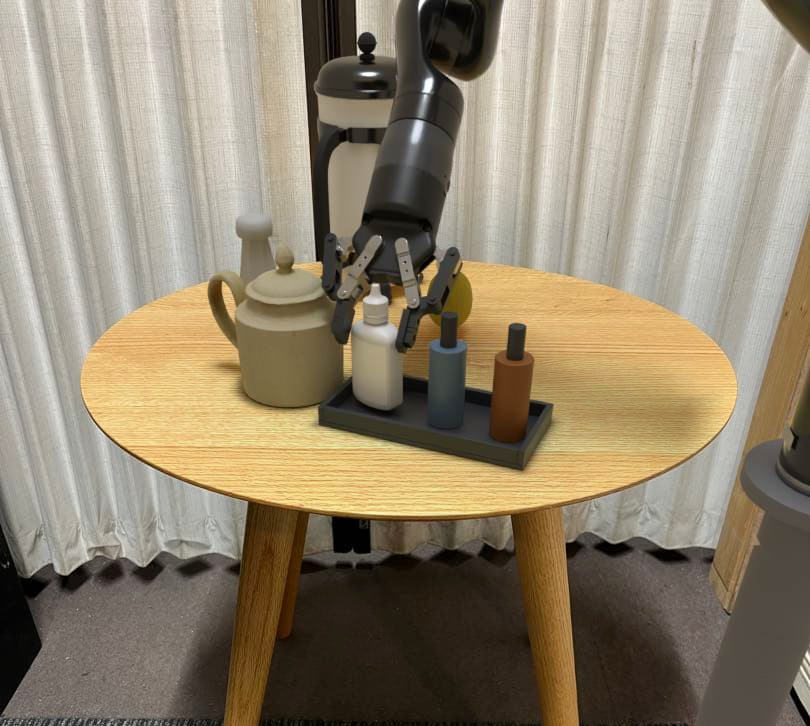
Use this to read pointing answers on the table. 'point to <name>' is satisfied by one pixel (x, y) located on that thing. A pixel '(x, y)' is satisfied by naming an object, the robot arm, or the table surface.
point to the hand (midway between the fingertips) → (370, 345)
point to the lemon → (457, 300)
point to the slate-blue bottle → (447, 375)
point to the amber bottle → (511, 388)
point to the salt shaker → (254, 245)
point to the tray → (415, 430)
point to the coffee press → (350, 141)
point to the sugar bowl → (281, 334)
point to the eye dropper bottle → (376, 355)
